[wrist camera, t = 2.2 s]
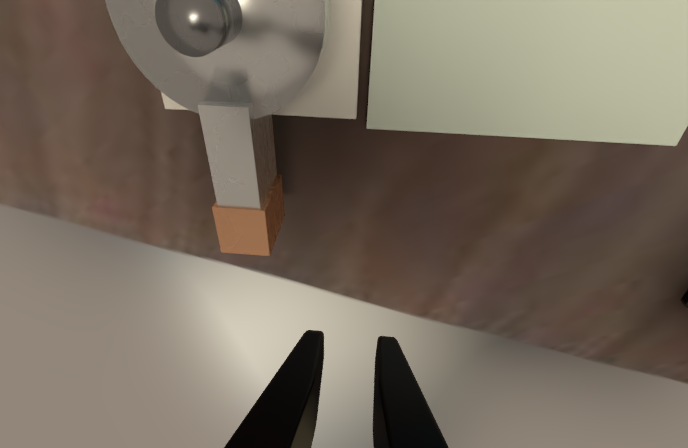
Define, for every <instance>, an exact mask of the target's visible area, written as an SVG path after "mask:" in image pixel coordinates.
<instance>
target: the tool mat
mask: <svg viewBox="0 0 688 448" xmlns="http://www.w3.org/2000/svg"><path fill="white" fill-rule="evenodd" d="M687 126H688V0H375V3H374V18H373V34H372V50H371V65H370V81H369V96H368V112H367V128H366V129H382V130H400V131H418V132H436V133H454V134H472V135H490V136H507V137H525V138H543V139H561V140H579V141H597V142H615V143H633V144H651V145H669V146H676V145H677V143H678V142H679V140H680V138H681V136H682V135H683V133H684V131H685V129H686V128H687Z"/></svg>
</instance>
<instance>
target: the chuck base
mask: <svg viewBox="0 0 688 448" xmlns="http://www.w3.org/2000/svg"><path fill="white" fill-rule="evenodd" d="M361 19H362V0H331V21H330V29H329V34H328V39H327V42H326V46H325V49H324V52H323V54H322V56H321V58H320V60H319V63H318V64H317V66H316V68H315V69H314V71H313V73H312V74H311V76H310V77H309V79H308V81H307V82H306V84H305V85H304V87H303V88H302V89H301V90H300V92H299V93H298V94H297V95H296V96H295V97H294V98H293V99H292V100H291V101H290V102H289V103H287V104H286V105H285V106H283V107H282V108H280V109H279V110H277V111H275V112H273V113H272V115H289V116H307V117H326V118H344V119H356V116H357V103H358V82H359V61H360V40H361ZM161 94H162V98H163V102H164V106H165V109H179V110H189V109H187V108H185V107H183V106H181V105H179V104H178V103H176V102H175V101H173V100H172V99H170V98H169V97H167V96H166V95H165V94H164V93H162V92H161Z"/></svg>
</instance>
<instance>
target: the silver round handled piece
mask: <svg viewBox="0 0 688 448" xmlns="http://www.w3.org/2000/svg"><path fill="white" fill-rule="evenodd" d="M105 1H106V5H107V9H108V12H109V15H110V18H111V21H112V24H113V26H114V28H115V30H116V33H117V35H118V37H119V39H120V41H121V43H122V45H123V46H124V48H125V50H126V51H127V53H128V55H129V56H130V58H131V59H132V60H133V62H134V63H135V65H136V66H137V67H138V69H139V70H140V71H141V72H142V73H143V74H144V75H145V77H146V78H147V79H148V80H149V81H150V82H151V83H152V84H153V85H154V86H155V87H156V88H157V89H159V90H160V91H161V92H162V93H164V94H165V95H166V96H167V97H169V98H170V99H172V100H173V101H175V102H176V103H178V104H179V105H181V106H183V107H185V108H187V109H189V110H191V111H193V112H195V113H198V114H199V115H200V120H201V125H202V130H203V135H204V140H205V145H206V150H207V155H208V160H209V165H210V171H211V176H212V181H213V186H214V191H215V196H216V202H215V204H214V205H213V207H212V210H213V215H214V220H215V224H216V229H217V234H218V239H219V244H220V249H221V252H222V253H236V254H249V255H263V256H270V254H271V251H272V249H273V246H274V243H275V240H276V238H277V235H278V232H279V230H280V227H281V224H282V222H283V219H284V216H285V214H284V201H283V188H282V175H281V174H277V171H276V159H275V147H274V136H273V124H272V113H273V112H275V111H277V110H279V109H280V108H282V107H283V106H285V105H286V104H287V103H289V102H290V101H291V100H292V99H293V98H294V97H295V96H296V95H297V94H298V93H299V92H300V90H301V89H302V88H303V87H304V85H305V84H306V82H307V81H308V79H309V77H310V76H311V74H312V73H313V71H314V69H315V68H316V66H317V64H318V63H319V60H320V58H321V56H322V54H323V52H324V49H325V46H326V42H327V39H328V34H329V29H330V21H331V0H105Z"/></svg>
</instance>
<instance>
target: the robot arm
mask: <svg viewBox="0 0 688 448" xmlns="http://www.w3.org/2000/svg"><path fill="white" fill-rule="evenodd" d="M682 303H683V304H684V305H685V306H686V307H687V308H688V292H687V293H686V294H685V295H684V297H683V298H682ZM323 359H324V334H323V332H322V331H313V330H308V331H306V332H305V333H304V334H303V336H302V337H301V339H300V340H299V342H298V343H297V344H296V346H295V347H294V349H293V350H292V352H291V353H290V354H289V356H288V357H287V359H286V360H285V362H284V363H283V365H282V366H281V367H280V369H279V370H278V372H277V373H276V374H275V376H274V378H273V379H272V380H271V382H270V383H269V384H268V386H267V387H266V389H265V390H264V391H263V393H262V394H261V396H260V397H259V399H258V400H257V401H256V403H255V404H254V406H253V407H252V409H251V410H250V411H249V413H248V415H247V416H246V417H245V419H244V420H243V421H242V423H241V424H240V426H239V427H238V429H237V430H236V431H235V433H234V434H233V436H232V437H231V439H230V440H229V441H228V443H227V444H226V446H225V447H224V448H311V446H312V441H313V437H314V432H315V427H316V421H317V413H318V404H319V395H320V387H321V386H320V385H321V378H322V369H323ZM373 405H374V406H373V444H374V448H448V445H447V443H446V441H445V439H444V437H443V435H442V433H441V431H440V429H439V427H438V425H437V423H436V420H435V418H434V417H433V414H432V412H431V410H430V408H429V406H428V404H427V402H426V400H425V398H424V395H423V394H422V392H421V389H420V387H419V385H418V383H417V381H416V379H415V377H414V375H413V373H412V370H411V368H410V366H409V364H408V362H407V360H406V358H405V356H404V354H403V352H402V350H401V348H400V345H399V343H398V341H397V340H396V339H395V338H394V337H385V336H380V337H379V338H378V341H377V349H376V357H375V377H374V404H373Z"/></svg>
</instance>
